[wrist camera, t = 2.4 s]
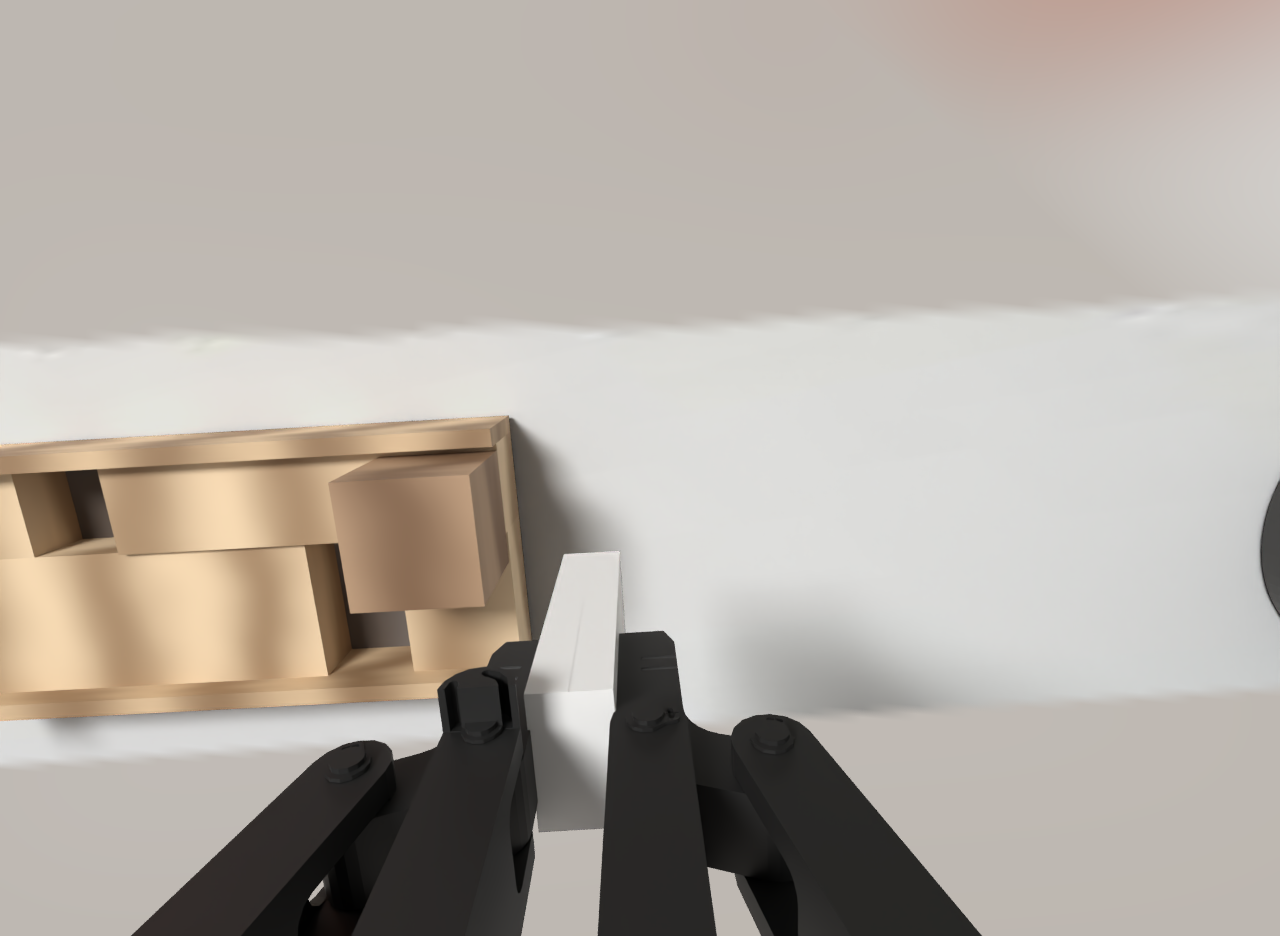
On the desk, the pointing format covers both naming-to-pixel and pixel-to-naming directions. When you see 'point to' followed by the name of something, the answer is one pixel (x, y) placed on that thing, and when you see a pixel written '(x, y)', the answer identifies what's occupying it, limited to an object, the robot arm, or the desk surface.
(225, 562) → the tray
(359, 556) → the block
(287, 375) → the desk surface
